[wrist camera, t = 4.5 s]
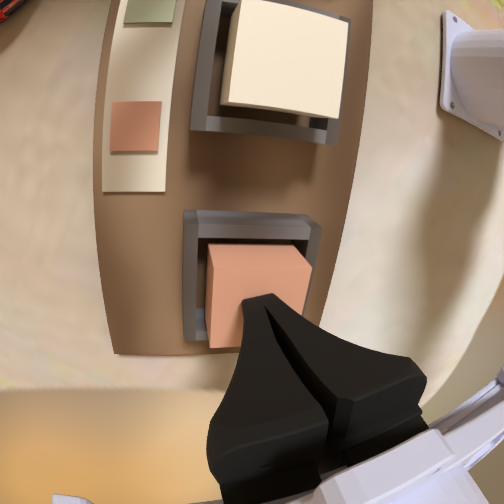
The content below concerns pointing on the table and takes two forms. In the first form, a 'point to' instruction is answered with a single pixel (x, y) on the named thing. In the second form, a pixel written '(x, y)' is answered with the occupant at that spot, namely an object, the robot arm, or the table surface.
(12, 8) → the race car
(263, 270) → the terracotta key
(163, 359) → the table surface
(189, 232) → the keypad
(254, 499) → the robot arm
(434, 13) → the table surface
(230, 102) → the cream key
